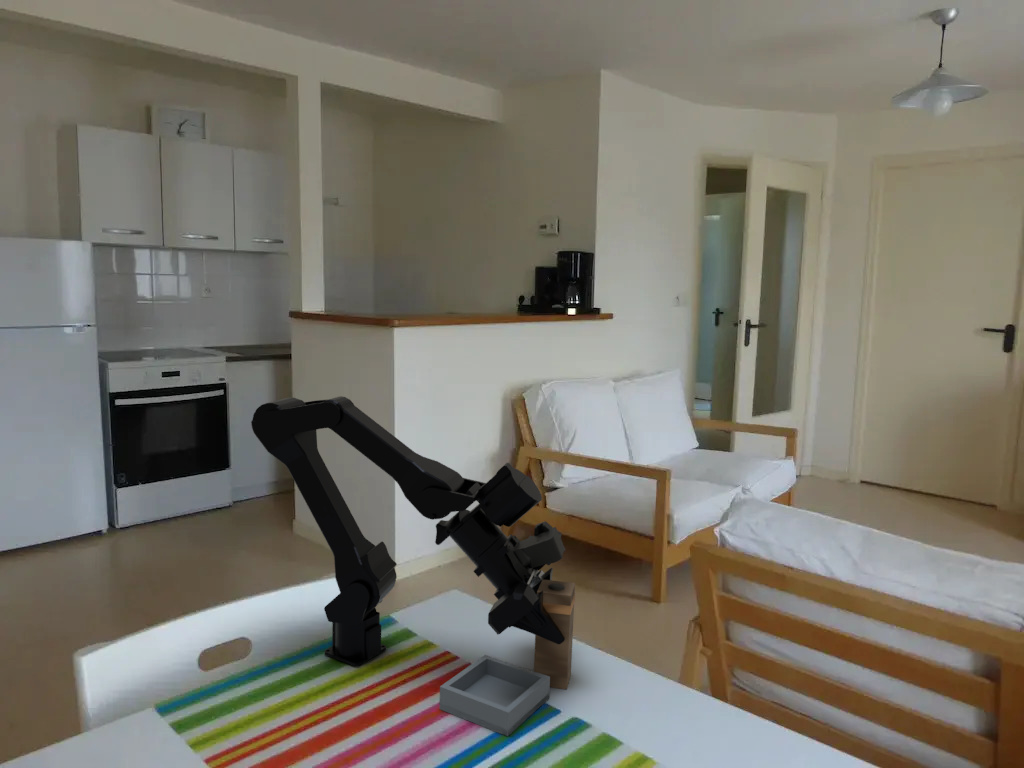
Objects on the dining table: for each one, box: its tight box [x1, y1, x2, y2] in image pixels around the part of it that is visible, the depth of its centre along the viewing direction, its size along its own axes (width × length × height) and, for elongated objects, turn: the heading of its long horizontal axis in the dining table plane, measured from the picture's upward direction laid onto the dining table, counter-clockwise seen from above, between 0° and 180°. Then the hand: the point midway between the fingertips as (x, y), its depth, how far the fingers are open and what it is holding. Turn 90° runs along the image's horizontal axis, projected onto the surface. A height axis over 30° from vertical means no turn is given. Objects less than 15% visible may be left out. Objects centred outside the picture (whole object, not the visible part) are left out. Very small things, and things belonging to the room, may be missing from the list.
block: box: [533, 579, 576, 690], centre depth 101 cm, size 5×5×13 cm
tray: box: [439, 654, 551, 737], centre depth 95 cm, size 10×10×3 cm
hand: (564, 633), depth 101 cm, fingers closed on block, 4 cm apart
